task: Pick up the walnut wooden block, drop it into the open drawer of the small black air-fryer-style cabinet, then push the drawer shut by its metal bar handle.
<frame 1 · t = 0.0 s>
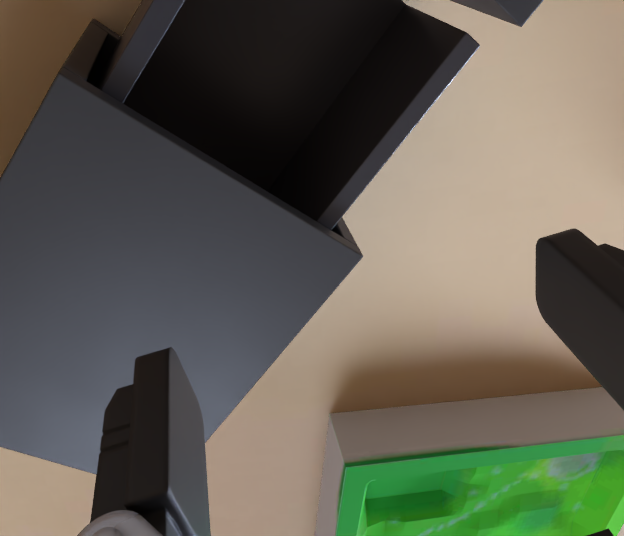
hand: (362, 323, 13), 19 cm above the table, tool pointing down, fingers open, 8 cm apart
cabinet: (134, 220, 31), on the table
drawer: (310, 3, 23), point 5 cm above the table, slide at 10.0 cm
tray: (455, 500, 51), on the table
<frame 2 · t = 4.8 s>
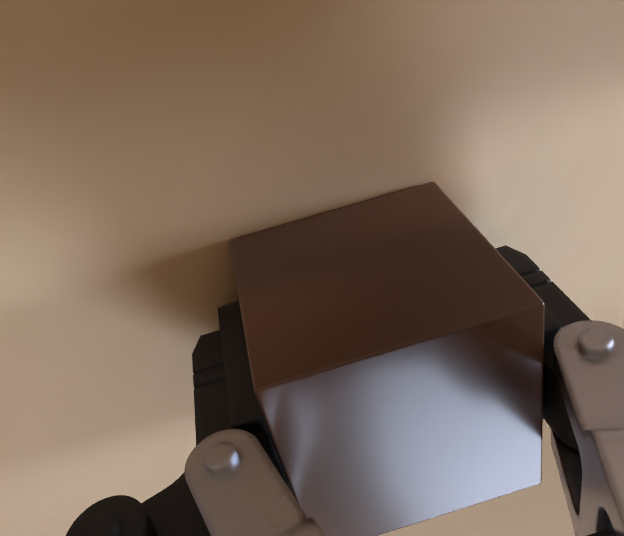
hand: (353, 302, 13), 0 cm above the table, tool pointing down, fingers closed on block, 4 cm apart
block: (350, 293, 14), on the table, touching gripper
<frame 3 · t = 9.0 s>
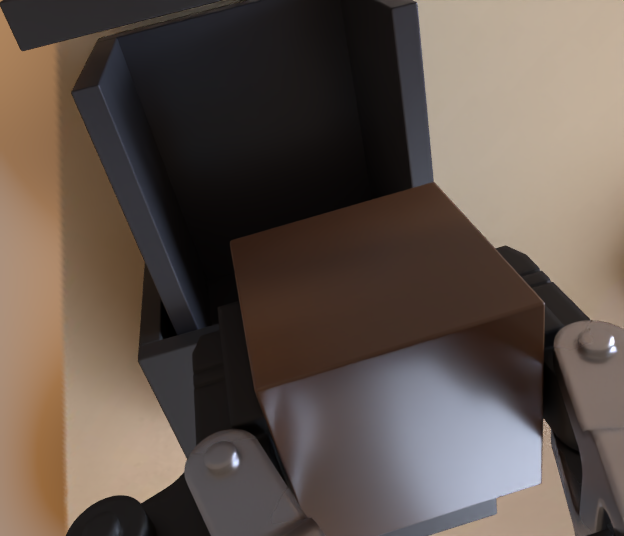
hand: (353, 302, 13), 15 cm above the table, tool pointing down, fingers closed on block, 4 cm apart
block: (350, 293, 14), point 15 cm above the table, touching gripper
cabinet: (307, 316, 33), on the table
drawer: (254, 97, 21), point 5 cm above the table, slide at 10.0 cm
when the fingers open (8 cm above the table, at t = 11.4 s): block drops 6 cm, resting on drawer.
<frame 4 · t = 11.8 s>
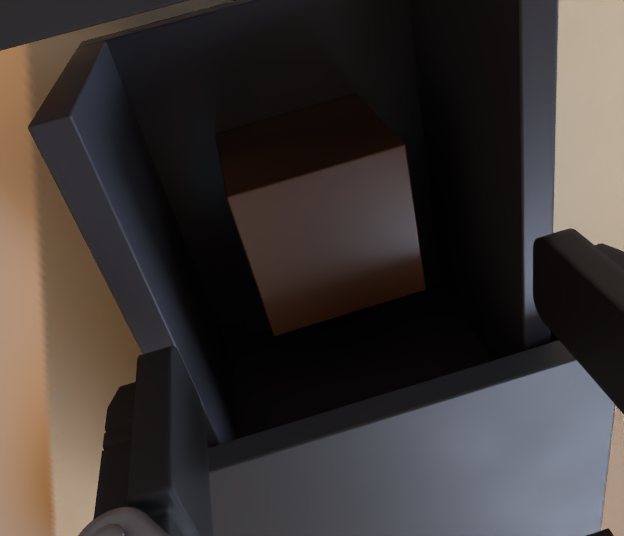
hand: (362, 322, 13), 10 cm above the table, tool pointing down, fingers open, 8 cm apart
block: (303, 178, 19), point 2 cm above the table, touching drawer
cabinet: (345, 376, 27), on the table
drawer: (295, 120, 15), point 5 cm above the table, slide at 10.0 cm, touching block
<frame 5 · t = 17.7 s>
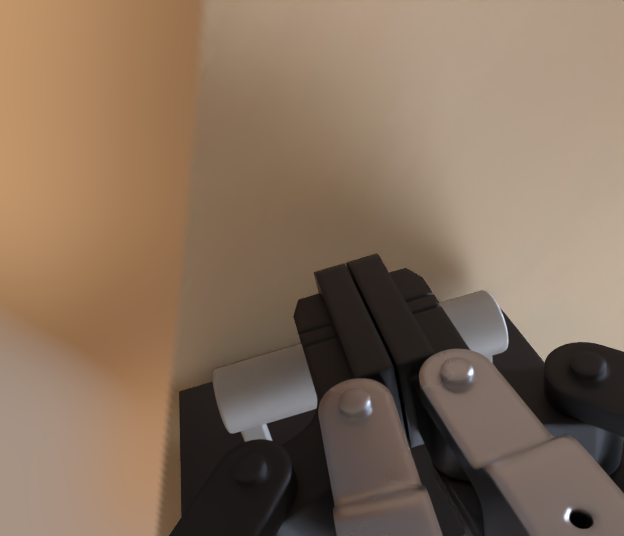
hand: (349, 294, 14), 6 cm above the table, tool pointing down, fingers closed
drawer: (391, 525, 20), point 5 cm above the table, slide at 9.4 cm, touching block, gripper
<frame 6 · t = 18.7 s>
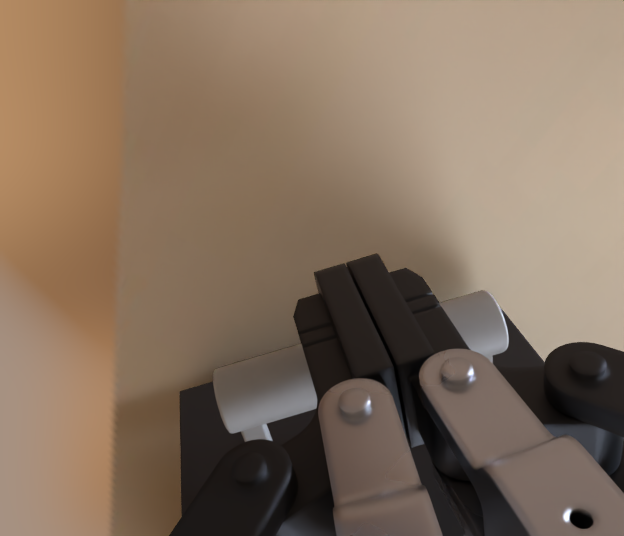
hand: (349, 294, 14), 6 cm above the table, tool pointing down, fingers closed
drawer: (391, 525, 20), point 5 cm above the table, slide at 4.4 cm, touching block, gripper
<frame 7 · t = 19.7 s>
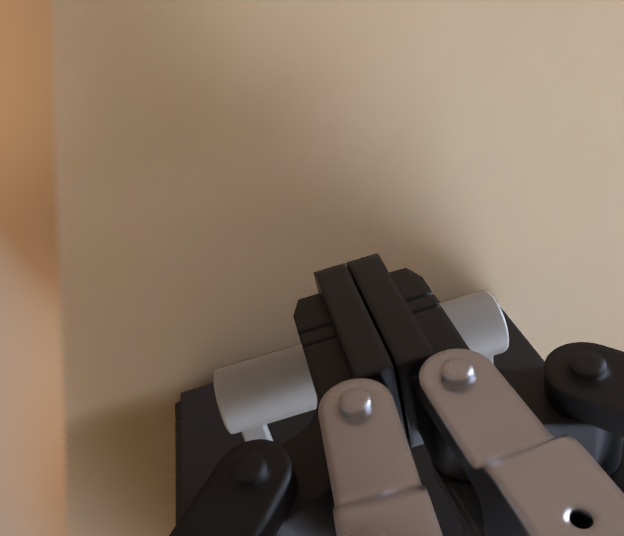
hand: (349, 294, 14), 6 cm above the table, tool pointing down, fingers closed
cabinet: (371, 481, 26), on the table
drawer: (393, 526, 20), point 5 cm above the table, slide at 0.0 cm, touching block, cabinet, gripper
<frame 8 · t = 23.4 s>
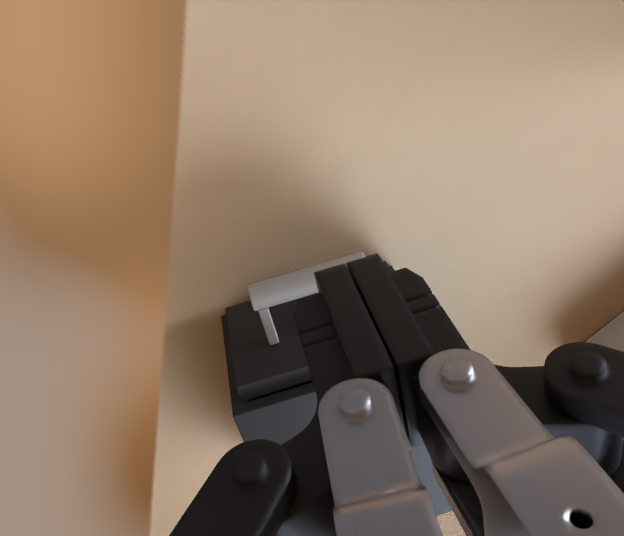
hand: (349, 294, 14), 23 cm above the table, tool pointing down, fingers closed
cabinet: (328, 368, 46), on the table
drawer: (332, 374, 40), point 5 cm above the table, slide at 0.0 cm, touching block
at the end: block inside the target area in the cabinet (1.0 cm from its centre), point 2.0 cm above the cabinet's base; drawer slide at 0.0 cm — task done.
